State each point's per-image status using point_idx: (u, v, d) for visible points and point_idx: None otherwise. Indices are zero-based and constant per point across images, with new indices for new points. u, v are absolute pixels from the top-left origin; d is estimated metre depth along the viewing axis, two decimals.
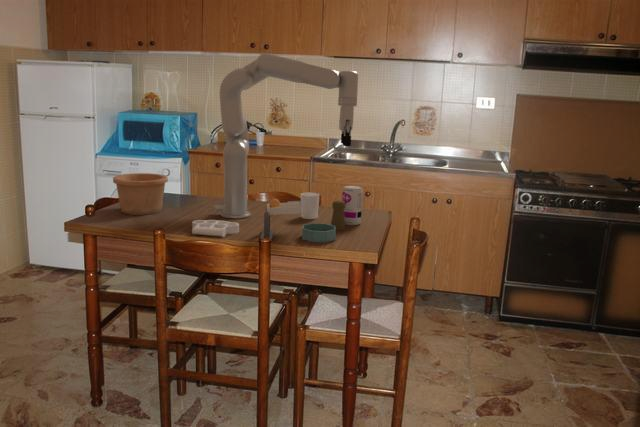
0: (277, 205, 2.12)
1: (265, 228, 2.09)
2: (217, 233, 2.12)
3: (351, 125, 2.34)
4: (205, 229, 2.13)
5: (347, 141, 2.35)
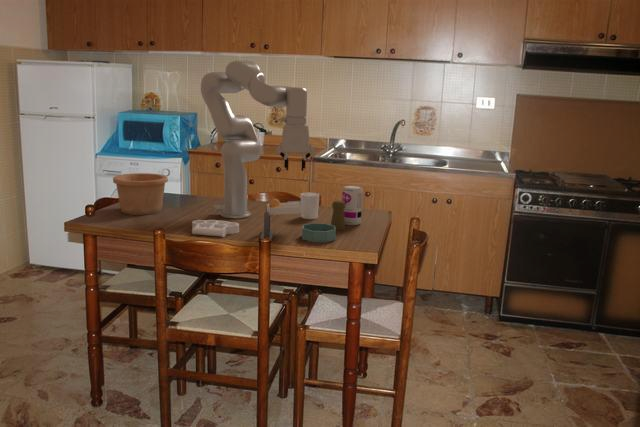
0: (277, 205, 2.12)
1: (265, 228, 2.09)
2: (217, 233, 2.12)
3: None
4: (205, 229, 2.13)
5: None
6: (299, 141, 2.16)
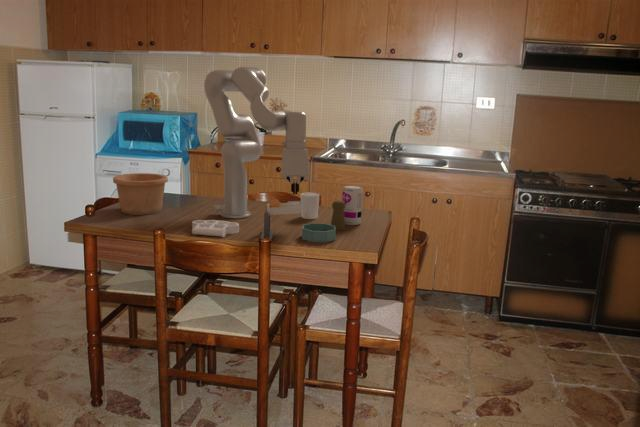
0: (277, 205, 2.12)
1: (265, 228, 2.09)
2: (217, 233, 2.12)
3: None
4: (205, 229, 2.13)
5: None
6: (299, 165, 2.18)
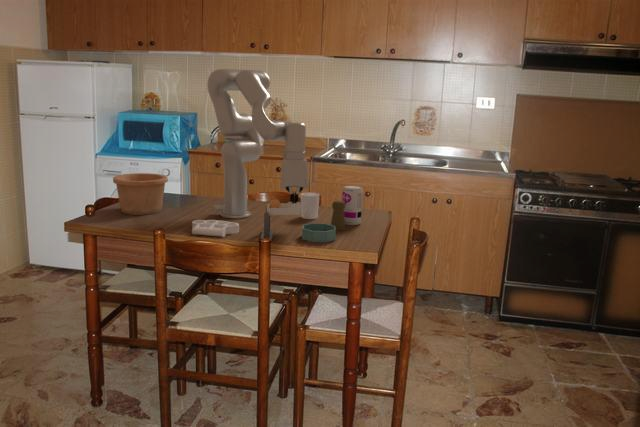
0: (277, 205, 2.12)
1: (265, 228, 2.09)
2: (217, 233, 2.12)
3: None
4: (205, 229, 2.13)
5: None
6: (298, 175, 2.19)
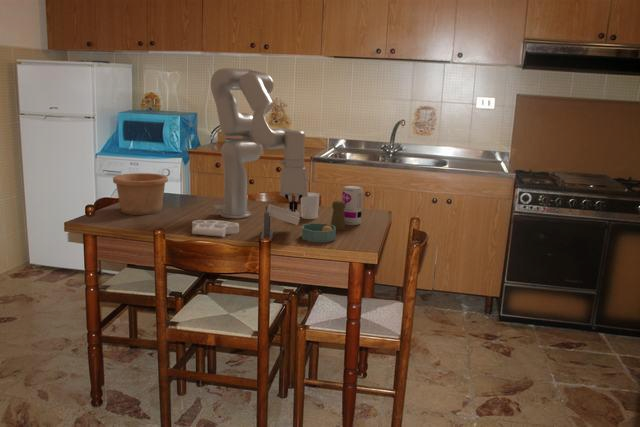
0: (327, 229, 2.14)
1: (265, 228, 2.09)
2: (217, 233, 2.12)
3: None
4: (205, 229, 2.13)
5: None
6: (297, 183, 2.19)
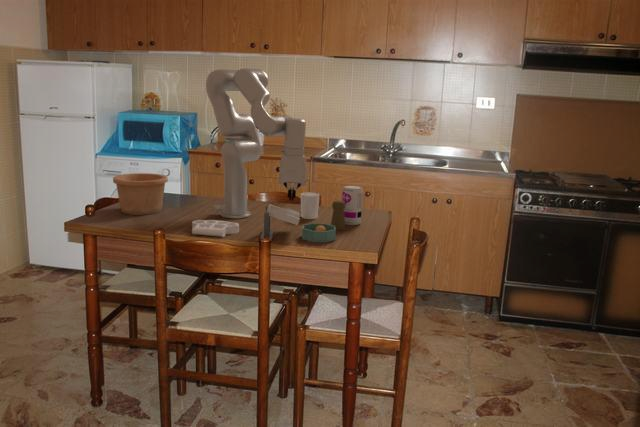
0: None
1: (265, 228, 2.09)
2: (217, 233, 2.12)
3: None
4: (205, 229, 2.13)
5: (295, 195, 2.24)
6: (296, 172, 2.19)
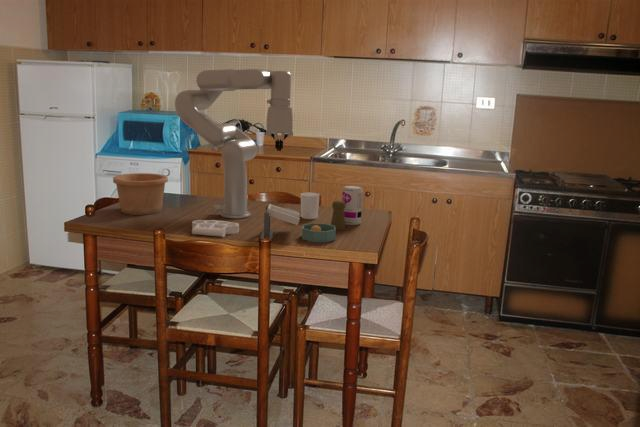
0: None
1: (265, 228, 2.09)
2: (217, 233, 2.12)
3: None
4: (205, 229, 2.13)
5: (282, 145, 2.32)
6: (283, 122, 2.27)
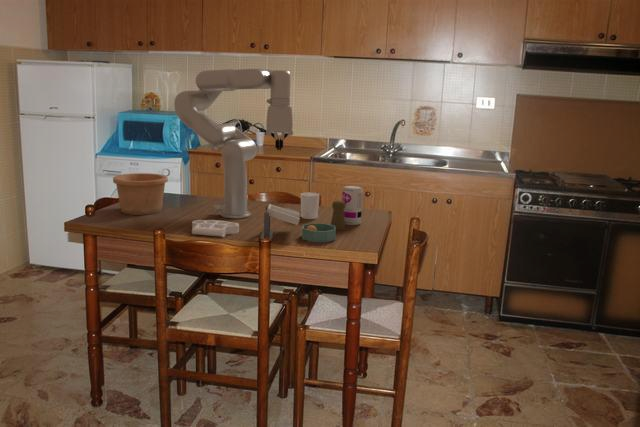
0: None
1: (265, 228, 2.09)
2: (217, 233, 2.12)
3: None
4: (205, 229, 2.13)
5: (282, 145, 2.32)
6: (283, 121, 2.27)
